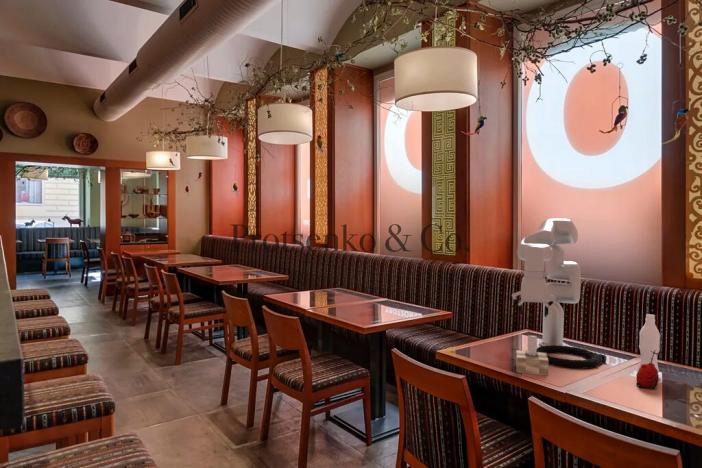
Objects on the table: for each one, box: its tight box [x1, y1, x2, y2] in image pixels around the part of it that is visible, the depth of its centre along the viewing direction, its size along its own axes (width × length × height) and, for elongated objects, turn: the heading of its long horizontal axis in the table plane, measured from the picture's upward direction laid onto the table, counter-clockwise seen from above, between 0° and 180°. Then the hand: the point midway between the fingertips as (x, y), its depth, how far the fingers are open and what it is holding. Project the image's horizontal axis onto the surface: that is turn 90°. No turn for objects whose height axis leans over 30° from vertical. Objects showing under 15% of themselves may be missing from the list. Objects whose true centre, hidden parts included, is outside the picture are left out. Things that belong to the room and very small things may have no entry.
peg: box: [526, 335, 538, 357], centre depth 201 cm, size 4×4×14 cm
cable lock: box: [537, 345, 607, 369], centre depth 216 cm, size 28×4×30 cm
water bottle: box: [637, 313, 661, 374], centre depth 195 cm, size 7×7×25 cm
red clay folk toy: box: [635, 350, 659, 390], centre depth 182 cm, size 8×7×15 cm
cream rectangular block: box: [515, 349, 549, 376], centre depth 201 cm, size 12×12×6 cm
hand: (533, 315), depth 201 cm, fingers open, 9 cm apart
